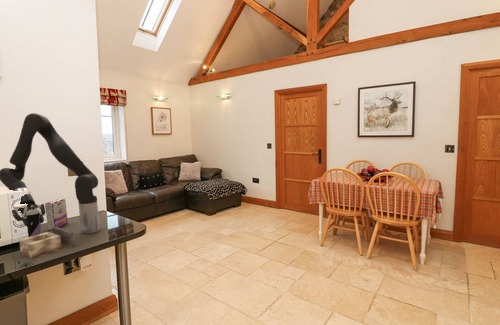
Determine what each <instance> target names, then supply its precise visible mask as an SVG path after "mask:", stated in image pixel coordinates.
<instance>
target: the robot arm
mask: <svg viewBox="0 0 500 325" xmlns="http://www.w3.org/2000/svg"><path fill="white" fill-rule="evenodd" d="M36 133H38V134H39V135H40V136H41V137H42V138H43V139H44V140H45V143H46V144H47V146H48V149H49V151H50V153H51V154H52V156H53V157H54V158H55V159H56V160H57V162H58V163H60V165H63V166H64V167H65V168H67V169H69V170H70V171H72V172H73V173H74V174H75V175H76V179H75V181H74V188H75V196H76V199H77V201H78V210H79V211H78V212H79V224H80V233H81V234H84V235H88V234H94V233H96V232H97V233H98V232H99V231H100V230H101V224H100V223H101V221H100V220H101V219H100V213H99V207H98V197H97V196H96V195H95V194H94V190H93V189H96V188H97V187H98V186H99V180H98V177H97V176H96V174H94V173H93V172H92V171H91V170H90V169H89V167H87V165H85V163H84V162H83V161H82V160H81V159H80V158H79V156H78V155H77V154H76V153H75V151H74V150H73V148H71V146H70V145H69V144H68V143H67V141H66V140H64V138H63V137H62V136H61V135H60V134H59V133H58V132H57V130H56V128H54V126H53V124H52V123H51V121H50V119H48V118H47V117H46V116H44V115H42V114H39V113H34V112H33V113H29V114H27V115H26V116H25V118H24V120H23V123H22V128H21V131H20V135H19V137H18V142H17V144H16V146H15V149H14V151H13V153H12V155H11V157H10V159H9V163H10V164H12V166H15V168H9V167H4V168H1V169H0V182H1V183H2V184H3V185H4V186H5V187H6V188H7V189H8V190H13V191H20V190H21V191H22V190H23V191H24V190H26V191H28V194H25V195H24V196H22V197H21V202H20V204H25V203H26V204H28V205H27V206H26V207H24V208H19V209H18V208H17V209H18V210H17V209H11V212H12V214H13V215H12V214H11V215H12V216H13V218H14V220H16V221H17V222H21V221H22V223H23V225H24V227H26V228H27V227H28V226H29V222H28V220H27V218H26V212H27V211H28V210H29V209H30V207H33V206H34V208H36V209H37V210H39V212H40V222H41V224H43V223H44V221H45V218H44V216H45V214H46V208H45V203H42V204H39V205H38V204H36V201H35V200H34V198H33V195H32V194H31V192H30V191H29V189H28V188H27V185H26V183H25V181H22V180H24V178H25V172H26V164H27V163H28V160H29V158H30V156H31V153H32V149H33V147H32V146H33V141H34V137H35V136H36ZM18 211H21V212H18ZM19 213H20V214H23V215H20V214H19Z"/></svg>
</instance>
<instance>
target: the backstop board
mask: <svg viewBox="0 0 500 325" xmlns="http://www.w3.org/2000/svg"><path fill="white" fill-rule="evenodd" d="M52 233H53V234H56V235H59V236H60V238H61V248H59V249H56V250H53V251H50V252H47V253H44V254H41V255H38V256H35V257H30V256H28V255H26V254H23V253H21V252H20V250H18V251H17V253H19V254H20V255H23V256H25V257H26V258H29V259H31V260H36V259H40V258H43V257H45V256H48V255H52V254H53V253H56V252H60V251H62V250H65V249H68V248H72V247H75V243H74V232H73V231H70V230H68V229H64V228H62V227H60V228H59V227H53V230H52Z"/></svg>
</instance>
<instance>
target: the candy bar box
mask: <svg viewBox="0 0 500 325" xmlns="http://www.w3.org/2000/svg"><path fill="white" fill-rule="evenodd" d="M44 207H45V214H46V223H47V230H48V231H51V230H52V231H53V227H59V228H62V227H64V226H66V225H68V224H69V223H68V222H69V221H68V214H67V204H66V198H57V199H54V200H51V201H48V202H46V203H44Z"/></svg>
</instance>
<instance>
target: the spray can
mask: <svg viewBox="0 0 500 325" xmlns="http://www.w3.org/2000/svg"><path fill="white" fill-rule="evenodd" d="M37 209H38V208H37ZM37 209H36V208H34V206H33V207H30V209H29V210H28V211H27V212H26V218H27V220H28V222H29V226H28V227H27V226H26V228H27V238H28V237H31V236H35V235H39V234H42V233H43V232H42V223H41V222H40V212H41V211H40V209H38V210H37Z"/></svg>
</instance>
